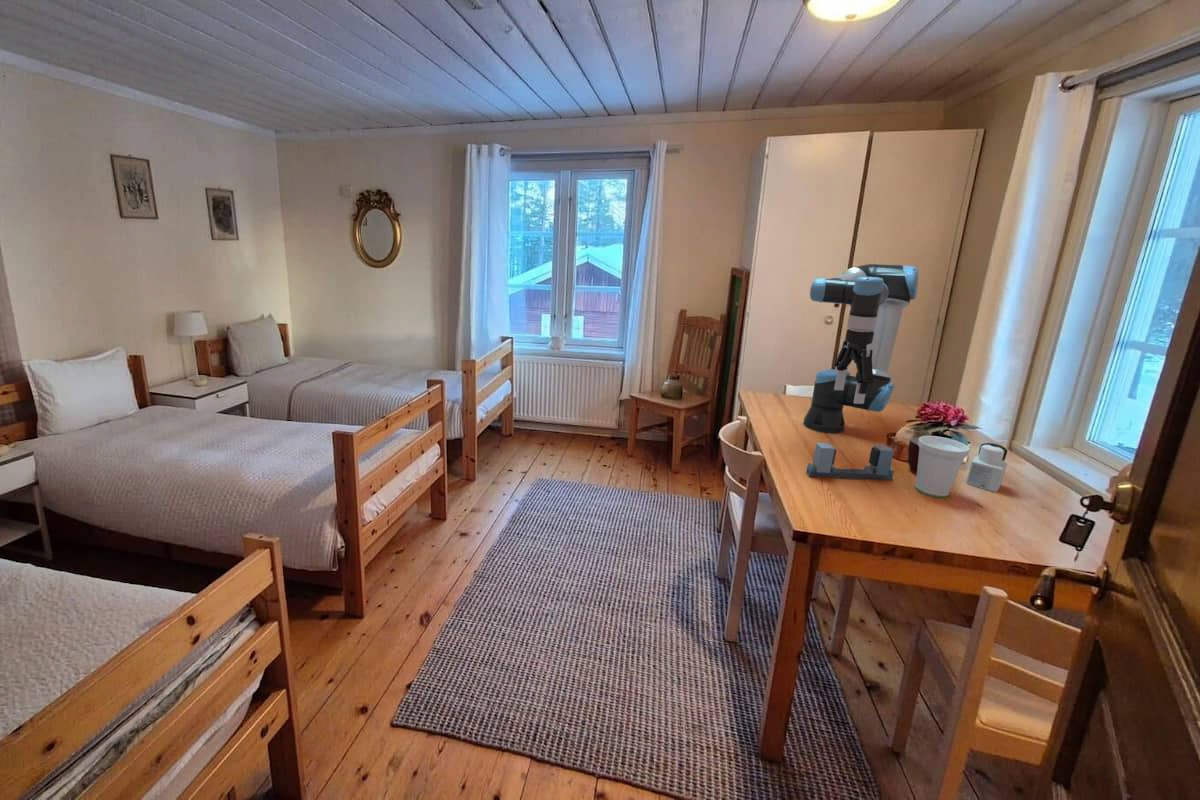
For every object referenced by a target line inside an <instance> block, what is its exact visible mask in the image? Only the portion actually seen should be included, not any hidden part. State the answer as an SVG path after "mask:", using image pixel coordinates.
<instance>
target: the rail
mask: <svg viewBox="0 0 1200 800" xmlns="http://www.w3.org/2000/svg"><path fill="white" fill-rule="evenodd" d="M894 452H895V450H893V449H892V448H891V447H889V446H887V445H878V444H877V445H873V446H872V447H871V450H870V455H869V458H868V463H869V465H864V468H863V469H861V468H839V467H836V466H834V465H832V466H831V471H830V473H821V472H816V470H815V467H814V466H813V465H812V464H813V463H810V462H808V463H807V466H806V472H805V474H806V473H807V474H808V475H809V476H808V475H807V474H806V475H807V476H808V477H809V478H816V477H821V479H845V480H846V479H847V480H848V479H849V480H870V481H871V480H872V481H893V478H894V473H895V469H894V468H892V467H891V464H892V460H893V457H894Z"/></svg>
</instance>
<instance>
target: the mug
mask: <svg viewBox="0 0 1200 800" xmlns="http://www.w3.org/2000/svg"><path fill="white" fill-rule="evenodd" d="M919 438H920V437H913V438H911V439H910V440H909V443H908V449H907V463H908V466H909V469H910V471H911V472H912V473H915V474H917V468H918V458H919V446H918V440H919Z"/></svg>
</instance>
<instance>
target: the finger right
mask: <svg viewBox="0 0 1200 800" xmlns="http://www.w3.org/2000/svg"><path fill="white" fill-rule="evenodd" d="M836 454H837V449H836V448H835V447H834V446H833V445H831V444H830V443H821V442H817V443H816V442H815V449H814V454H813V458H812V459H813V460H812V463H811V464H812V465H813V466H814V467H815V470H816V472H821V473H830V471H831V466H832V465H833V466H834V464H835V459H836Z"/></svg>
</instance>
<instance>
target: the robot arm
mask: <svg viewBox="0 0 1200 800" xmlns="http://www.w3.org/2000/svg"><path fill="white" fill-rule="evenodd" d="M918 281H919V272H918V269H917V267H915V266H912V265H905V264H901V265H899V264H877V263H871V264H870V263H869V264H863V265H857V266H853V267H851V268H847V269H846V270H845V271H843V272H842V273H841V274H840V275H837V276H833V277H832V278H825V277H823V278H821V277H820V278H814V279H813V281H812V283H811V286H810V290H809V298H810V300H811V301H813V302H818V303H829V304H840V305H850V309H849V314H848V318H847V319H848V320H847V325H846V326H847V329H846V331H845V337H844V340H843V342H842V346H841V349H840V351H839V353H838V355H837V358H836V360H835V362H834V367H836V369H823V370H820V371H818V372H817V373H816V376H815V381H814V382H813V383H814V386H813V391H812V398H811V404H810V407H809V409H808V411H807V412H806V415H805V416H804V418H803V422H802V424H803V426H804V427H806V428H808V429H811V430H813V431H817V432H822V433H828V434H839V433H843V432H844V431H845V426H846V424H845V417H844V411H843V410H844V406H846V407H849V408H851V407H852V408H856V409H861V410H865V411H868V412H870V411H872V412H879V413H880V412H883V411H884V410H885V409H886V408H887V405H888V403H889V401H890V399H891V396H892V394H893V392H894V391H893V390H894V388H895V383H894V382H892V381H891V380H892V377H891V375H890V374H889V368H890V366H891V365H890V364H891V360H892V356H893V352H894V348H895V344H896V339H897V336H898V332H899V328H900V324H901V319H902V315H903V311H904V309H905V308H906V307H908V306H910V302H911V301H912V300H915V299H916V298H917V294H918V293H917V292H918V283H919V282H918ZM852 361H853V362H854V364H856V365H855V367H856V370H857V371H856V374H855V375H851V373H850V371H849V370H848V367H849V365H850V364H851V363H852Z"/></svg>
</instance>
